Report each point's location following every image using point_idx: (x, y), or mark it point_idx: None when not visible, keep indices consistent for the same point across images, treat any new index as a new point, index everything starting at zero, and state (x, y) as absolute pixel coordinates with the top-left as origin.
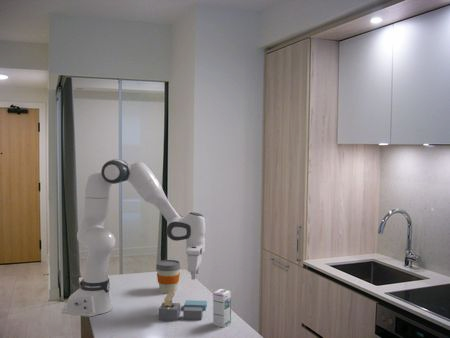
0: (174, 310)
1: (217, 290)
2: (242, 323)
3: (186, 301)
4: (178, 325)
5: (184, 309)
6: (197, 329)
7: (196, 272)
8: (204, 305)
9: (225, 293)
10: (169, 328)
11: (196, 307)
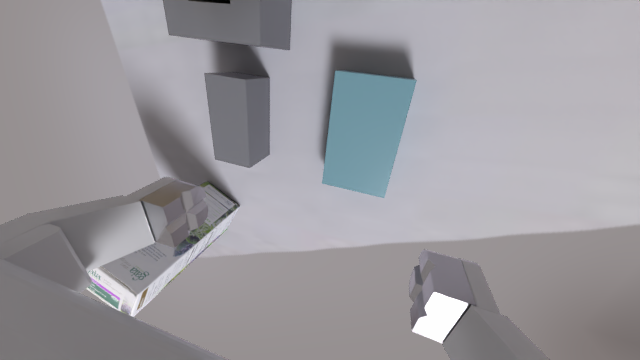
0: (171, 18)
1: (112, 279)
2: (232, 253)
3: (390, 83)
4: (175, 53)
5: (214, 78)
6: (166, 128)
7: (419, 283)
8: (323, 178)
9: (93, 293)
10: (141, 13)
11: (248, 141)
